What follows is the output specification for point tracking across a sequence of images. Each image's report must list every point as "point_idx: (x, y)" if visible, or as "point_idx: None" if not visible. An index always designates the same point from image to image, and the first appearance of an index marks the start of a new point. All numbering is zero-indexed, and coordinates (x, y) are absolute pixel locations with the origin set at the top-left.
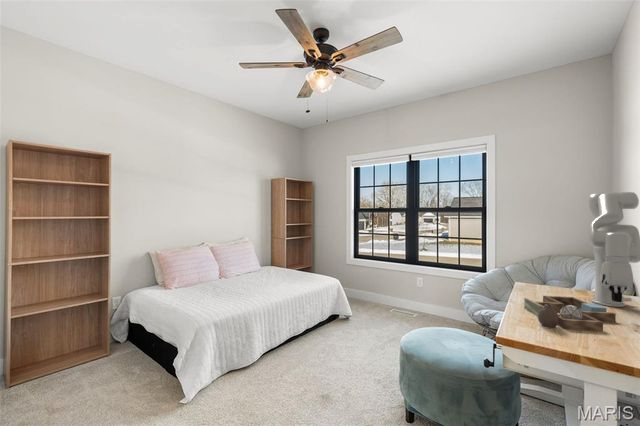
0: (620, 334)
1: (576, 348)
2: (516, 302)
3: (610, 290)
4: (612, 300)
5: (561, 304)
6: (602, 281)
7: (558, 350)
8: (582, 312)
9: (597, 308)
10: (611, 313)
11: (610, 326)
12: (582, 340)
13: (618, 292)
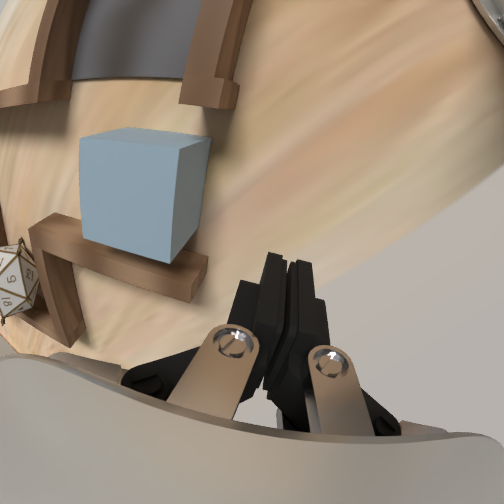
0: (119, 353)
1: (26, 351)
2: (4, 17)
3: (195, 351)
4: (267, 257)
5: (32, 102)
6: (25, 382)
7: (10, 345)
8: (27, 299)
9: (118, 243)
10: (168, 295)
11: (133, 308)
12: (35, 340)
13: (275, 384)
